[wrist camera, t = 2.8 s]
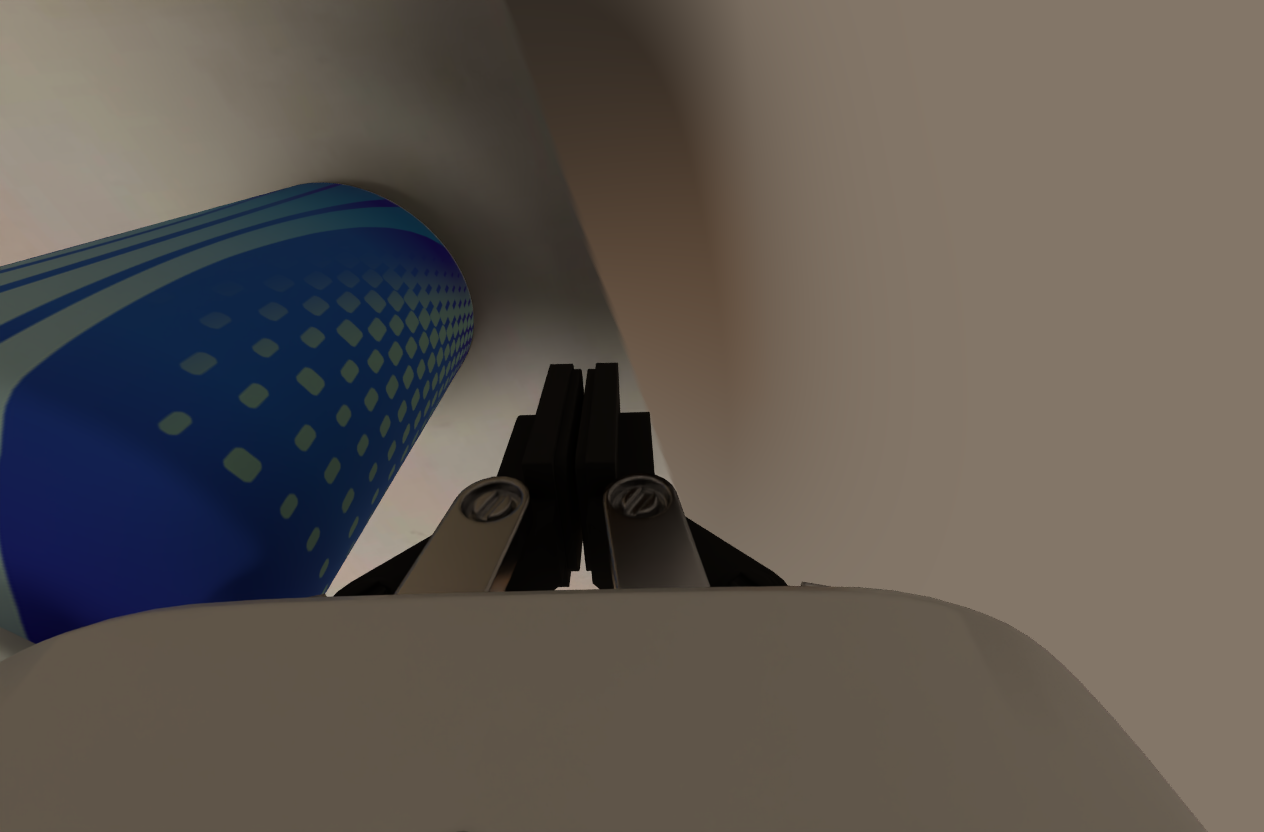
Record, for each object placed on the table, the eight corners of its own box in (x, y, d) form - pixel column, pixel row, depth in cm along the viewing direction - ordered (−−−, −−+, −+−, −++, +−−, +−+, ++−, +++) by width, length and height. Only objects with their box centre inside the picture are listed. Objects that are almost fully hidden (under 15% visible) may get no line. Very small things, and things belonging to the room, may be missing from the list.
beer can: (486, 390, 22) (279, 841, 9) (294, 372, 21) (-251, 832, 8) (476, 192, 17) (2, 508, 4) (230, 161, 17) (-1304, 417, 3)
